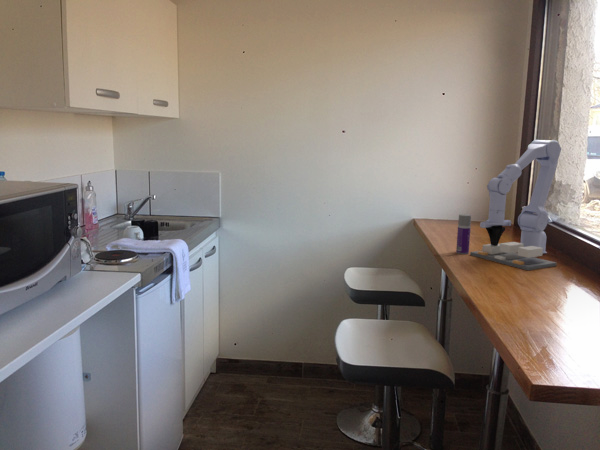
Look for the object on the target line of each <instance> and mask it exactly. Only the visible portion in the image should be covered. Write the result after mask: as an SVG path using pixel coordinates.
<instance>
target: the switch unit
mask: <svg viewBox="0 0 600 450" xmlns="http://www.w3.org/2000/svg"><path fill="white" fill-rule="evenodd" d="M469 254H470V256H472V257H477V258H479V259H483V260H487V261H491V262H494V263H499V264H503V265H506V266H510V267H514V268H518V269H521V270H525V271H533V270H539V269H546V268H551V267H552V268H553V267H557V263H558V262H557V261H556V262H555V261H552V260H547V259H543V258H538V257H531V258H527V257H523V256H519V255H518V252H515V253H506V252H505V253H498V254H488V253H487V252H483V251H482V250H476V251H475V250H473V251H469Z"/></svg>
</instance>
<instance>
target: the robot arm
mask: <svg viewBox="0 0 600 450" xmlns="http://www.w3.org/2000/svg"><path fill="white" fill-rule="evenodd" d="M561 151H562V147H561V144H560V143H559V141H558V140H556V139H551V140H548V139H534V140H533V141H531V143H530V144H528V146H527V149H526V151H524V153H523V154H522V155H521V156H520V157H519V159H518V160H516V162H514V163H511V164H507V165H506V166H505V168H504V169H503V170H502V171H501V172H500V173H499V174H498V175H497V176H496V177H492V178H491V179H490V180H489V181H488V184H487V185H486V187H487V191H488V196H489V204H488V216H487V217H488V218H487V219H486V221H481V222H480V225H479V227H480V228H482V229H485V230H486V231H487V234H488V237H489V243H490V244H491V245H494V246H497V245H498V244H500V243H499V242H500V240H501V237H502V236H503V233H504V232H505V231H506V226H507V227H510V226H512V220H510V219H505V215H506V202H507V194H508V193H509V192H510V191H511V188H512V186H513V183H514V182H516V180H518V179H519V178H520V177H521V176H522V172H523V171H522V170H524V169H525V168H526V167H527V166H528V165H530V164H531V163H532V162H533V161H537V162H538V163H539V165H540V167H539V172H538V175H537V178H536V182H535V184H534V188H533V191H532V195H531V197H530V201H529V204H527V205H526V206H524V207H523V208H522V210H521V213H520V214H519V215H518V217H517V224H518V226H519V228H520V230H521V233H520V242H519V243H522V244H524V247H527V246H536V247H540V248H543V254H547V253H548V252H547V251H546V249H547V248H546V246H547V235H546V232H545V231H544V230H545V229H546V228H547V226H548V217H549V213H548V211H546V209H545V205H546V203H547V199H548V196H549V193H550V189H551V187H552V184H553V180H554V177H555V174H556V171H557V167H558V162H559V159H560V154H561Z"/></svg>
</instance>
